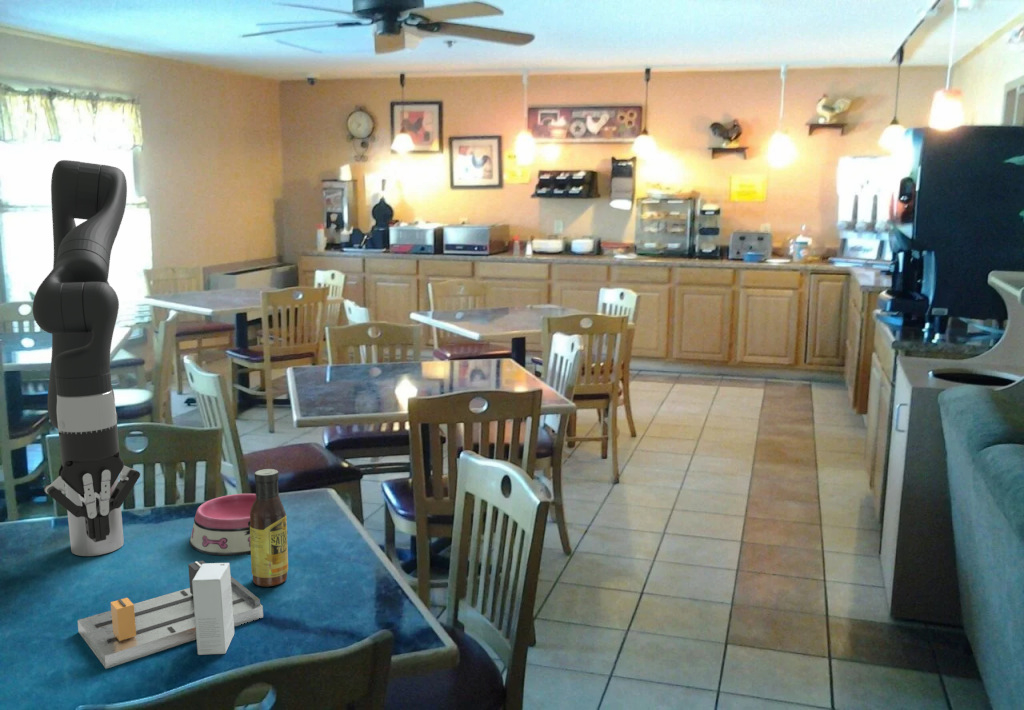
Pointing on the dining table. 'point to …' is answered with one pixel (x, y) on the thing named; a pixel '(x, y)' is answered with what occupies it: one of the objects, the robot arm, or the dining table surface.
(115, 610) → the fader orange
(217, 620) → the skincare box
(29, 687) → the dining table surface
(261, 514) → the sauce bottle
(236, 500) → the dog bowl
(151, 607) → the console
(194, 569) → the block
